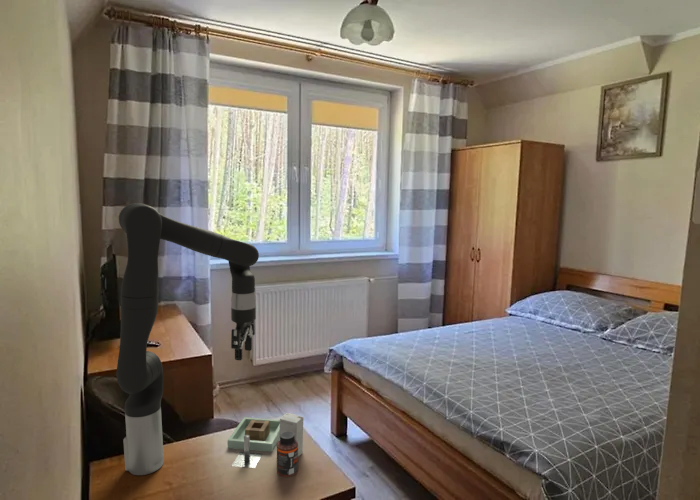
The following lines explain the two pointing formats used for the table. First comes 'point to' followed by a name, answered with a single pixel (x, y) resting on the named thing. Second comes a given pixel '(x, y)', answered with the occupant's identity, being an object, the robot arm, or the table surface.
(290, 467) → the supplement bottle
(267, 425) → the ring
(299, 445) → the skincare box
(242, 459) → the plate with metal peg
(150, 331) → the robot arm
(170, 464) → the table surface
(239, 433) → the tray
